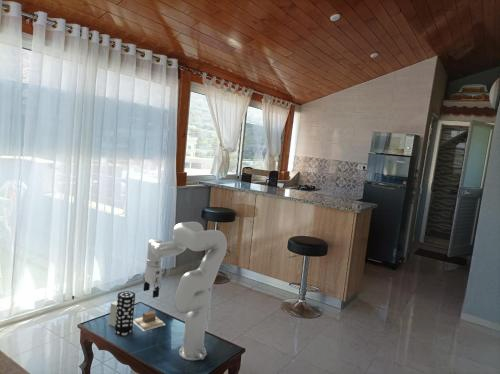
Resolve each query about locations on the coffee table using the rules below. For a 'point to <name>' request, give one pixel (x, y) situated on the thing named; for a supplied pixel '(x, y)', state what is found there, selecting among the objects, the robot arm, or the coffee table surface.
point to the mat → (149, 328)
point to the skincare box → (113, 313)
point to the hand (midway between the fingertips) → (150, 293)
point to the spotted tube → (124, 313)
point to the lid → (148, 320)
